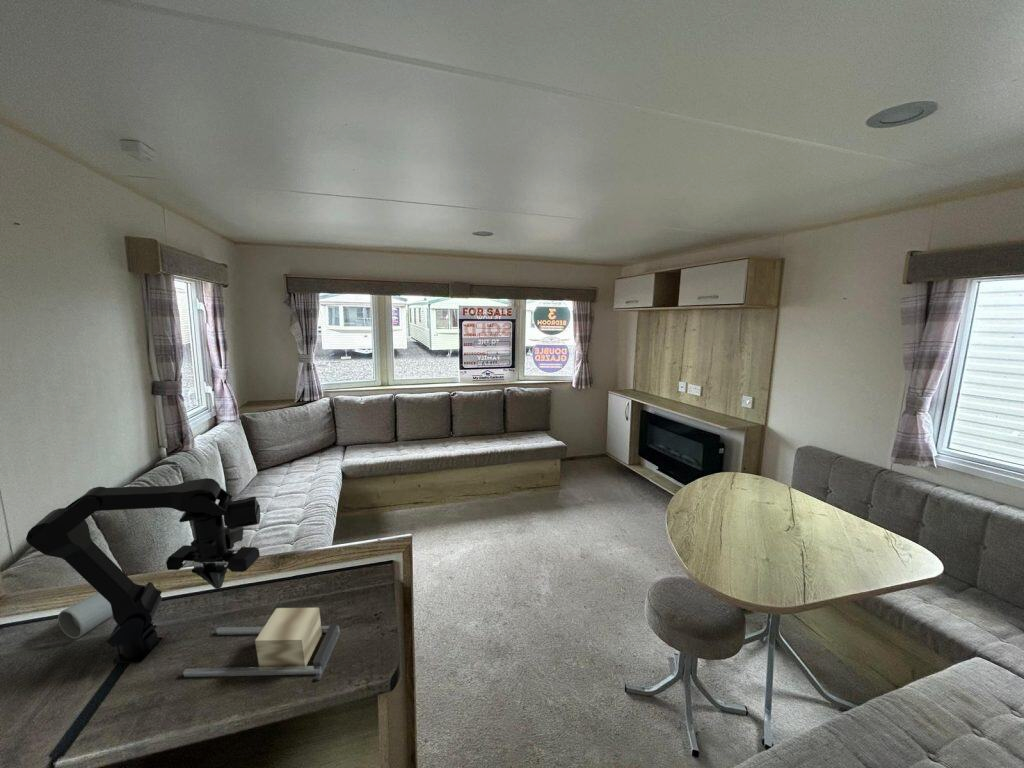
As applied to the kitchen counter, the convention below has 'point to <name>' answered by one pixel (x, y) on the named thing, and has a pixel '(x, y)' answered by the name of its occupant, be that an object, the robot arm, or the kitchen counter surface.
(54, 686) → the kitchen counter surface
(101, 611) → the grey hollow cylinder
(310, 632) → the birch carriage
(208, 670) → the graphite track
